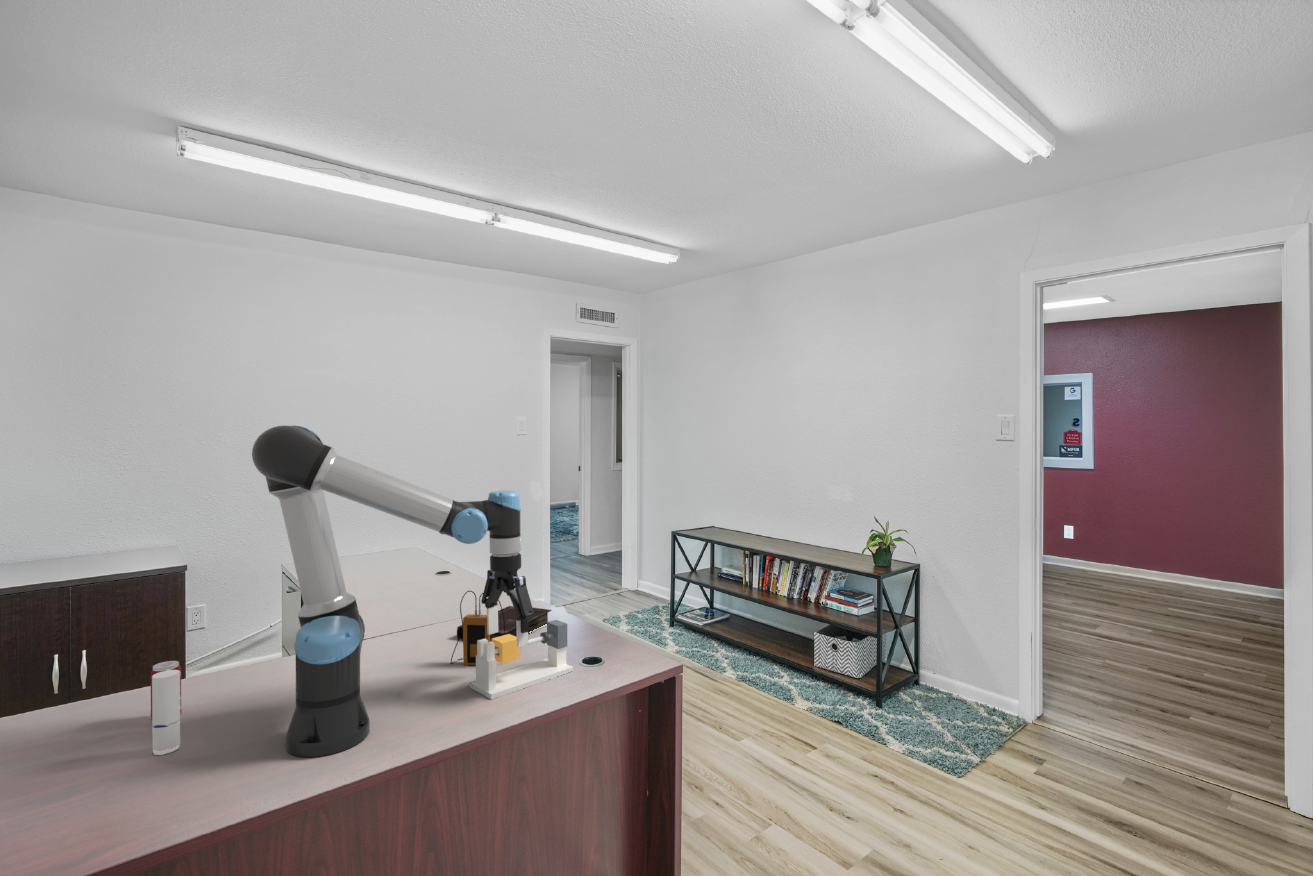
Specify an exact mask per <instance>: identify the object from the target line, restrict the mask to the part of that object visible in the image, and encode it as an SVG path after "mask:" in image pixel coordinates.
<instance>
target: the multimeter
mask: <svg viewBox="0 0 1313 876" xmlns="http://www.w3.org/2000/svg"><path fill="white" fill-rule="evenodd" d="M469 592H470V593H472V594H474V597H475V602H474V603H475V608H474V614H471V613H469V614H466V615H465V616H463V615H462V602H463V600H464V598H465V595H467V593H469ZM482 596H483V592H482V593H481V594H480V596H479V599H478V603H479V604H477V594H476V593H475V592H474V591H472V590H467V591H466V592H465V593H464V594H463V596H462V598H461V601H460V604H459V612H460V618H461V625H462V631H463V638H462V644H463V646H462V649H463V650H462V651H463V654H462V655H463V657H462V658H463V659H462V658H458V659H457V660H458V661H460V659H461V660H463V665H465V666H476V655H477V641H478V640H482V639H487V640H488V642H492V638H494V633H493V634H490V635H488V634H487V614H482V611H481V610H482V609H481V598H482ZM498 603H499V604H498V605H499V607H500V610H502V609H503V606H502V604H501V601H500V600H498ZM477 606H478V608H477ZM502 614H503V610H502ZM503 620H504V614H503ZM462 631H461V633H462ZM461 633H460V636H461ZM504 635H505V621H504ZM460 636H459V639H457V641H456V644H455V646H454V650H453V652H452V655H451V659H450V664H454V663H453V662H454V661H453V657H454V654H455V651H456V649H457V646H458V643H459V641H460V640H461V639H460ZM452 661H453V662H452Z"/></svg>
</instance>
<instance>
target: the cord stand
mask: <svg viewBox="0 0 1313 876" xmlns="http://www.w3.org/2000/svg"><path fill="white" fill-rule="evenodd" d="M540 642H541V643H542V644H546V645H547V658H545V659H541V660H538V661H535V662H531V663H529V664H525V665H521V666H519V667H515V668H513V669H509V670H506V671H503V672H499V673H497V661H496V659H495V654H498V653H499V648H497V649H495V643H493V642H488V640H487V639H482V640H478V641H477V655H476V665H475V680H473V681H471V682H469V688H471V689H472V690H474V691H475V692H477V693H479V694H481V695H483V696H484V697H486V698H487V699H489V700H494V699H497V698H499V697H503V696H506V695H509V694H511V693H514V692H518V691H520V690H523V688H524V689H527V688H529V686H530V687H532V686H535V685H539V684H541V683H544V682H546V681H550V680H552V679H556V678H558V677H557V676H559V677H561V675H562V676H564V675H563V674H565V675H567V674H566V673H568V672H571V671H573V672H574V666H572V665H570V664H568V663H567V647H568V623H566V622H564V621H561V620H558V619H553V620H548V622H547V626H546V631H543V632H541V633H540V635H539V636H538V637H533V638H530V639H529V638H528V645H524V646H521V647H520V648H522V647H525V646H530V645H532V644H536V643H540ZM571 673H572V672H571ZM568 674H569V673H568ZM549 679H550V680H549ZM526 687H527V688H526ZM517 690H518V691H517Z"/></svg>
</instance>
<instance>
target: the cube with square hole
mask: <svg viewBox="0 0 1313 876" xmlns="http://www.w3.org/2000/svg"><path fill="white" fill-rule="evenodd" d="M492 642H493V643H495V649H497V648H499V653H498V654H495V659H496V663H497V662H498V663H500V664H502V665H504V664H507V663H511V662H513V661H517V660H521V647H517V637H515V636H513V635H510V634H507V635H503V636H500V637H496V638H492Z"/></svg>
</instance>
